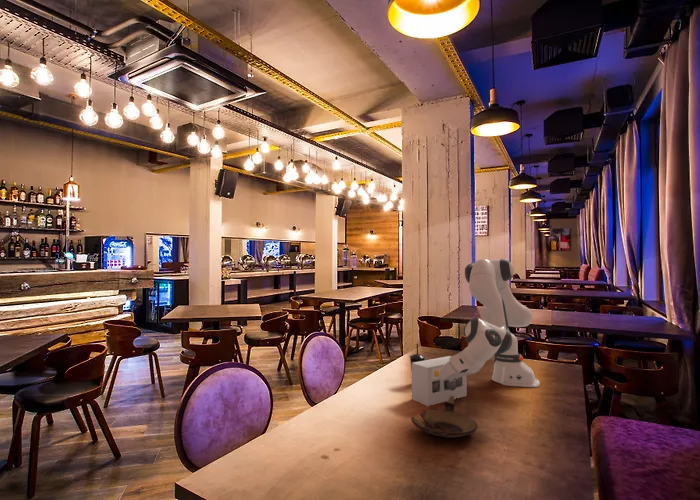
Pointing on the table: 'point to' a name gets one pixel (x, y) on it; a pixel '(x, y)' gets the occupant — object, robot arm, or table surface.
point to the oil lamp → (446, 422)
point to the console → (429, 373)
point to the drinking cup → (416, 357)
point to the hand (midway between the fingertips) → (451, 379)
